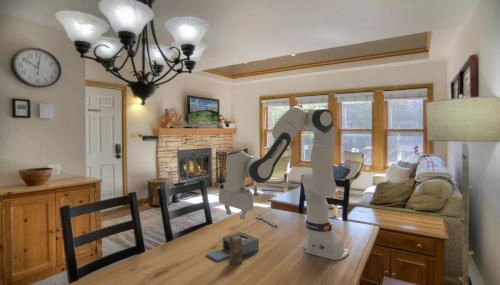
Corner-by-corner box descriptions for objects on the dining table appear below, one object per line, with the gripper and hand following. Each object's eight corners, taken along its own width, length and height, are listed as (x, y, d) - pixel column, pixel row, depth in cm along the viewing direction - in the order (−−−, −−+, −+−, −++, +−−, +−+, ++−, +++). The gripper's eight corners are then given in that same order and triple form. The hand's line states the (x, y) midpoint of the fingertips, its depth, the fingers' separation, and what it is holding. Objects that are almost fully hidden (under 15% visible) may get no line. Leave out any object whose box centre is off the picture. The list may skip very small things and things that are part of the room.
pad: (229, 257, 136) (229, 255, 136) (217, 262, 131) (217, 259, 131) (217, 251, 142) (217, 249, 142) (206, 255, 137) (206, 253, 137)
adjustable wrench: (278, 227, 178) (278, 225, 178) (269, 229, 176) (269, 226, 176) (262, 216, 201) (262, 213, 201) (254, 217, 199) (254, 214, 199)
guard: (258, 250, 143) (258, 238, 143) (241, 258, 135) (241, 245, 135) (240, 242, 153) (239, 231, 153) (222, 249, 145) (222, 237, 145)
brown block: (242, 262, 130) (242, 237, 129) (235, 265, 127) (235, 239, 127) (236, 260, 133) (236, 234, 132) (229, 262, 130) (229, 237, 129)
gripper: (256, 188, 123) (256, 220, 124) (226, 182, 138) (226, 210, 138) (246, 191, 119) (246, 223, 119) (216, 184, 133) (216, 213, 134)
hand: (235, 216), depth 129 cm, fingers open, 8 cm apart
